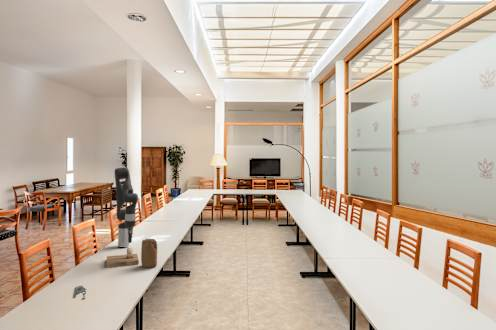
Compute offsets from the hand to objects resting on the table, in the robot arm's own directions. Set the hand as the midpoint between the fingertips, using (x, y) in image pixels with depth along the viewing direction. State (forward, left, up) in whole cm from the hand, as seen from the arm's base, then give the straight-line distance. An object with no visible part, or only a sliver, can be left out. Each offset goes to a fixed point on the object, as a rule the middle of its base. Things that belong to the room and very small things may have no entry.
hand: (129, 241), depth 243 cm
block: (+16, +13, -15) cm, 26 cm away
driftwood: (+50, -30, -16) cm, 60 cm away
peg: (0, 0, -15) cm, 15 cm away
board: (0, -5, -15) cm, 16 cm away
